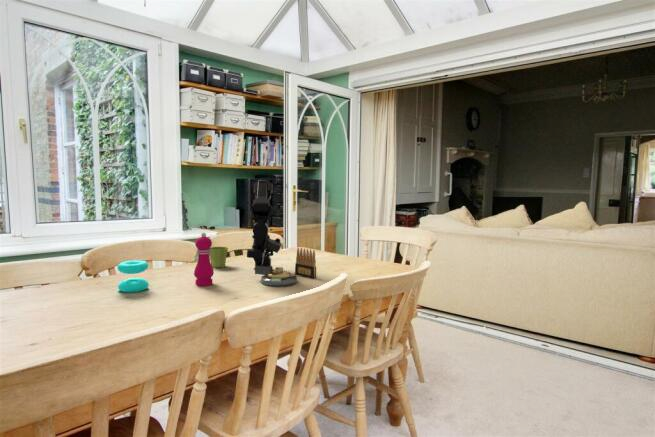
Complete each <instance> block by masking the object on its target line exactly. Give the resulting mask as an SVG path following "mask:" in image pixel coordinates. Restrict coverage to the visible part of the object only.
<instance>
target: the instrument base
mask: <svg viewBox="0 0 655 437" xmlns="http://www.w3.org/2000/svg"><path fill="white" fill-rule="evenodd" d="M297 279H298V277H297V275H295V274H291V277H290V278H288V279H281V278H272V279H270V278H268V275H261V281H260V282H261V284H262V285H264V286H265V287H271V288H272V287H273V288H285V287H286V288H287V287H292V286H295V285H296V284H297V282H298V280H297Z"/></svg>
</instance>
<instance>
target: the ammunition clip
mask: <svg viewBox="0 0 655 437" xmlns="http://www.w3.org/2000/svg"><path fill="white" fill-rule="evenodd" d="M316 263H317V262H316V252H315V250H314V249H313V251H312V249H310V250H309V249H308V248H307V249H306V248H302V247H300V248H299V247H297V250H296V258H295V267H294V270H295V271H294V275H295V276H296V277H297V276H299V277H303V278H308V279H312V280H315V279H317V266H316V265H317V264H316Z"/></svg>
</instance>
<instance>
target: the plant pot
mask: <svg viewBox="0 0 655 437" xmlns="http://www.w3.org/2000/svg"><path fill="white" fill-rule="evenodd" d="M228 250H229V247H228V246H211V247H210V252H211V253H209V259H210V263H211V265H212V267H213V269H215V268H216V269H218V268H225V266H226V262H227V261H226V260H227V255H228V254H227V253H228Z"/></svg>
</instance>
